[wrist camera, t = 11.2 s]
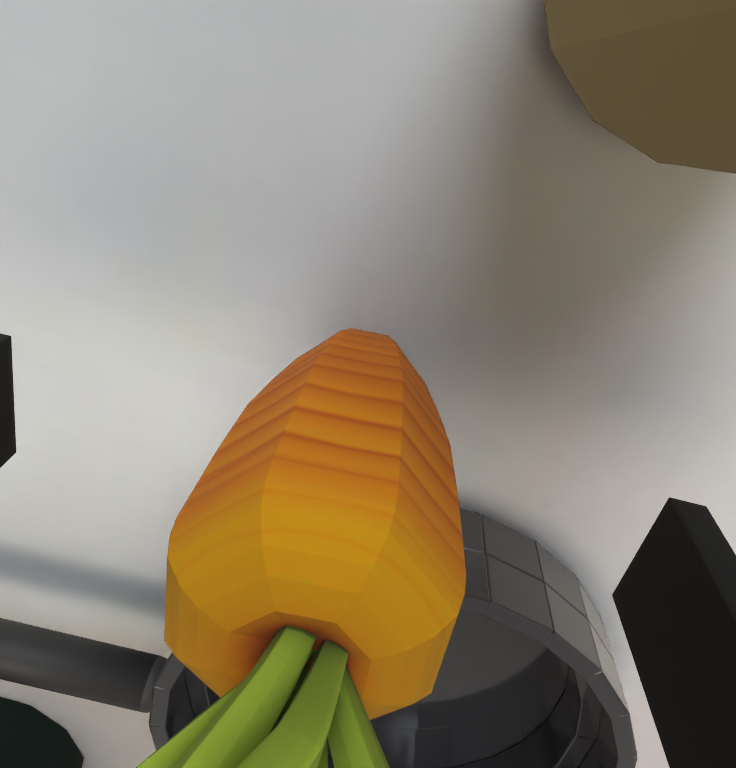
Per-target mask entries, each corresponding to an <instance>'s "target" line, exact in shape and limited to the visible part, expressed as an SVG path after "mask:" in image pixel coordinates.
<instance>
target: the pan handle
mask: <svg viewBox="0 0 736 768" xmlns="http://www.w3.org/2000/svg"><path fill="white" fill-rule="evenodd" d="M164 659H165V657H162V656H159V655H155V654H151V653H146V652H142V651H138V650H134V649H130V648H125V647H121V646H117V645H113V644H108V643H104V642H100V641H96V640H91V639H87V638H83V637H79V636H74V635H70V634H66V633H62V632H58V631H53V630H49V629H45V628H41V627H36V626H32V625H28V624H24V623H19V622H15V621H11V620H7V619H2V618H0V679H2V680H6V681H11V682H15V683H19V684H23V685H28V686H32V687H36V688H40V689H45V690H49V691H53V692H58V693H62V694H66V695H70V696H75V697H79V698H83V699H88V700H92V701H96V702H100V703H105V704H109V705H113V706H118V707H122V708H126V709H130V710H135V711H139V712H145V713H147V712H150V711H151V710H152V708H153V703H152V690H153V684H154V681H155V679H156V677H157V675H158V672H159V670H160V668H161V666H162V663H163V661H164Z"/></svg>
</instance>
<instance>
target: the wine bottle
mask: <svg viewBox="0 0 736 768" xmlns="http://www.w3.org/2000/svg"><path fill="white" fill-rule="evenodd" d="M82 763H83V756H82V755H81V753H80V752H79V750H78V748H77V747H76V745H75V744H74V742H73V740H72V739H71V737H70V736H69V734H68V733H67V731H66V730H65V729H63V728H62V727H60V726H59V725H57V724H56V723H54V722H53V721H51V720H50V719H48V718H47V717H46V716H44V715H43V714H41V713H40V712H38V711H37V710H35V709H34V708H32V707H31V706H28V705H24V704H21V703H17V702H14V701H11V700H7V699H4V698H0V768H82Z"/></svg>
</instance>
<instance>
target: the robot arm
mask: <svg viewBox="0 0 736 768" xmlns="http://www.w3.org/2000/svg"><path fill="white" fill-rule="evenodd" d="M15 453H16V438H15V416H14V393H13V370H12V347H11V336H8V335H4V334H0V467H1V466H3V465H4V464H5V463H6V462H7V461H8V460H9V459H10V458H11V457H12V456H13V455H14V454H15ZM612 596H613V599H614V602H615V605H616V608H617V611H618V614H619V617H620V620H621V623H622V626H623V629H624V632H625V635H626V638H627V641H628V644H629V647H630V650H631V653H632V656H633V659H634V662H635V665H636V668H637V671H638V674H639V677H640V680H641V683H642V686H643V689H644V692H645V695H646V698H647V701H648V704H649V707H650V710H651V713H652V716H653V719H654V722H655V725H656V728H657V731H658V734H659V737H660V740H661V743H662V746H663V749H664V752H665V755H666V758H667V761H668V764H669V767H670V768H736V555H735V553H734V552H733V550H732V548H731V547H730V545H729V543H728V542H727V540H726V538H725V537H724V535H723V533H722V532H721V530H720V528H719V527H718V525H717V524H716V522H715V520H714V519H713V517H712V515H711V514H710V512H709V510H708V509H707V507H706V506H702V505H698V504H694V503H690V502H686V501H682V500H678V499H674V498H669V499H668V500H667V502H666V504H665V505H664V507H663V509H662V511H661V512H660V514H659V516H658V517H657V519H656V521H655V523H654V524H653V526H652V528H651V529H650V531H649V533H648V535H647V536H646V538H645V540H644V541H643V543H642V545H641V547H640V548H639V550H638V552H637V553H636V555H635V557H634V558H633V560H632V562H631V564H630V565H629V567H628V569H627V570H626V572H625V574H624V576H623V577H622V579H621V581H620V582H619V584H618V586H617V588H616V589H615V591H614V593H613V594H612Z"/></svg>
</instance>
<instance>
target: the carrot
mask: <svg viewBox="0 0 736 768" xmlns="http://www.w3.org/2000/svg"><path fill="white" fill-rule="evenodd" d="M465 585H466V567H465V557H464V548H463V538H462V528H461V518H460V508H459V499H458V493H457V486H456V479H455V473H454V466H453V460H452V453H451V447H450V443H449V440H448V437H447V435H446V432H445V429H444V426H443V424H442V421H441V418H440V415H439V413H438V410H437V408H436V406H435V404H434V401H433V399H432V397H431V395H430V393H429V391H428V388H427V386H426V384H425V382H424V381H423V380H422V378H421V377H420V376H419V374H418V373H417V371H416V370H415V369H414V367H413V366H412V364H411V363H410V362H409V360H408V359H407V357H406V356H405V355H404V353H403V352H402V351H401V349H400V348H399V346H398V345H397V344H396V342H395V341H394V340H392V339H391V338H390V337H389V336H388V335H383V334H377V333H372V332H367V331H362V330H357V329H352V328H351V329H347V330H343V331H340V332H338V333H337V334H335V335H333V336H332V337H330V338H329V339H327V340H325V341H324V342H322V343H321V344H319V345H317V346H316V347H314V348H313V349H311V350H310V351H308V352H306V353H305V354H303V355H302V356H300V357H298V358H297V359H296V360H295V361H293V362H292V363H291V364H290V365H289V366H288V367H286V368H285V369H284V370H283V371H282V372H281V373H279V374H278V375H277V376H276V377H275V378H274V379H273V380H272V381H271V382H270V383H269V384H268V385H267V386H266V387H265V388H264V389H263V390H262V391H261V392H260V393H259V394H258V395H257V396H256V397H255V398H254V399H253V400H252V401H251V402H250V403H249V404H248V405H247V406H246V408H245V409H244V411H243V412H242V414H241V415H240V417H239V418H238V420H237V421H236V423H235V424H234V426H233V427H232V429H231V430H230V432H229V433H228V435H227V436H226V438H225V439H224V441H223V442H222V444H221V445H220V447H219V448H218V450H217V451H216V453H215V455H214V456H213V458H212V460H211V461H210V463H209V465H208V466H207V468H206V470H205V471H204V473H203V475H202V476H201V478H200V480H199V481H198V483H197V485H196V486H195V488H194V490H193V491H192V493H191V495H190V496H189V498H188V500H187V501H186V503H185V505H184V506H183V508H182V510H181V511H180V513H179V515H178V516H177V518H176V521H175V524H174V526H173V529H172V531H171V534H170V539H169V547H168V556H167V581H166V609H165V638H164V641H165V642H166V643H167V645H168V646H169V648H170V649H171V651H172V652H173V653H174V655H175V656H176V658H177V659H178V660H180V661H181V662H182V663H183V664H184V665H185V666H186V667H187V668H188V669H189V670H191V671H192V672H193V673H194V674H195V675H196V676H197V677H198V678H199V679H200V680H202V681H203V682H204V683H205V684H206V685H207V686H208V687H209V688H210V689H212V690H213V691H214V692H215V693H216V694H217V695H218V696H219V697H220V699H218V700H217V701H216V702H214V703H213V704H212V705H211V706H209V707H208V708H207V709H206V710H204V711H203V712H202V713H200V714H199V715H198V716H197V717H196V718H194V719H193V720H192V721H191V722H190V723H188V724H187V725H186V726H185V727H184V728H182V729H181V730H180V731H179V732H178V733H177V734H175V735H174V736H173V737H172V738H171V739H169V740H168V741H167V742H166V743H165V744H164V745H162V746H161V747H160V748H159V749H158V750H156V751H155V752H154V753H153V754H152V755H151V756H149V757H148V758H147V759H146V760H145V761H143V762H142V763H141V764H140V765H139V766H137V767H136V768H328V752H327V737H328V742H329V746H330V750H331V755H332V759H333V764H334V768H390V767H389V765H388V762H387V760H386V758H385V755H384V753H383V751H382V748H381V746H380V743H379V741H378V739H377V736H376V734H375V731H374V729H373V727H372V724H371V722H370V720H371V719H374V718H377V717H380V716H382V715H385V714H388V713H390V712H393V711H396V710H399V709H401V708H404V707H407V706H409V705H412V704H414V703H416V702H417V701H419V700H421V699H422V698H424V697H426V696H427V695H429V694H431V692H432V689H433V686H434V683H435V681H436V678H437V675H438V672H439V669H440V666H441V663H442V660H443V657H444V654H445V651H446V648H447V646H448V643H449V640H450V637H451V634H452V631H453V628H454V625H455V622H456V619H457V616H458V613H459V610H460V607H461V604H462V601H463V598H464V595H465Z"/></svg>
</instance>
